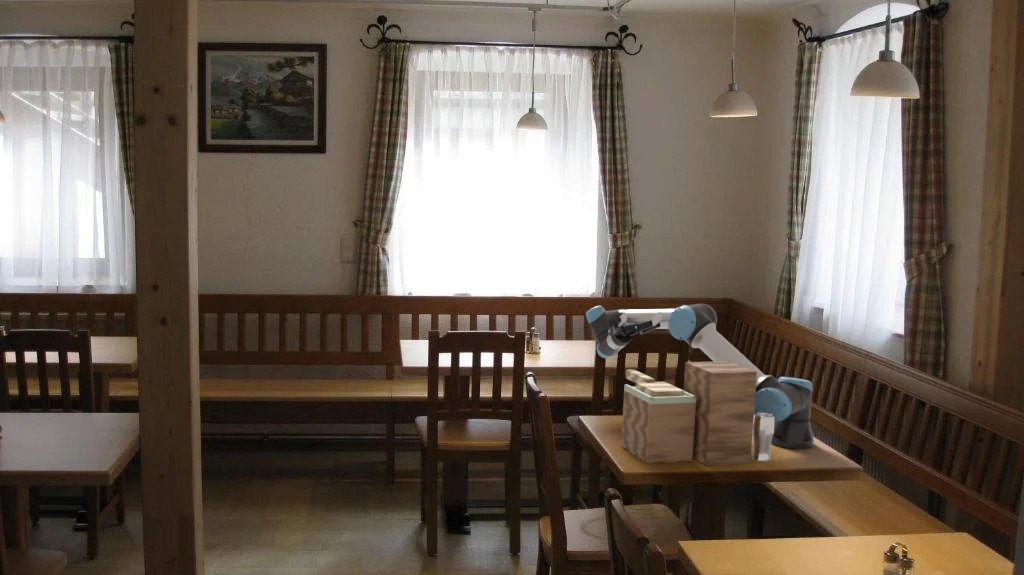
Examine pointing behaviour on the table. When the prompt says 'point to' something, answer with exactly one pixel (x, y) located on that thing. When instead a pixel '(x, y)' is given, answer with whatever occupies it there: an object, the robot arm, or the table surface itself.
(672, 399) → the tray
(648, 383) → the cream cross-shaped block
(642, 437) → the wooden box
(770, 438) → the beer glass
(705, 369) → the tall crate
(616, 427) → the table surface
